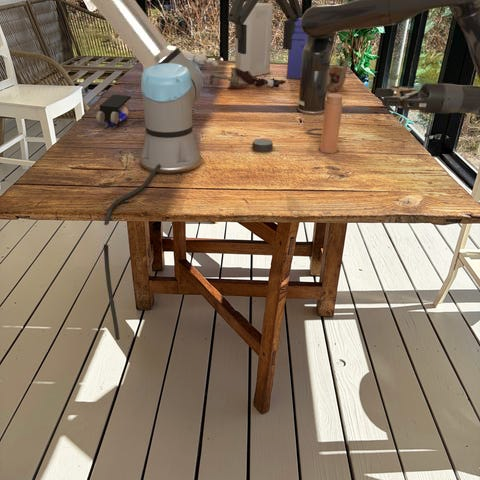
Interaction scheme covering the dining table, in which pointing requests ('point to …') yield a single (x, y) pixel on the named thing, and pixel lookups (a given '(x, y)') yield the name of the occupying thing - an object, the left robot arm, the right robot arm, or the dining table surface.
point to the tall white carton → (257, 41)
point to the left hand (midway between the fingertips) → (265, 51)
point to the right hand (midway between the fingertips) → (379, 96)
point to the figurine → (246, 79)
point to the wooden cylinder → (331, 123)
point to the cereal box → (296, 52)
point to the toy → (199, 58)
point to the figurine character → (113, 110)
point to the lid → (262, 145)
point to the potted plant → (337, 76)
